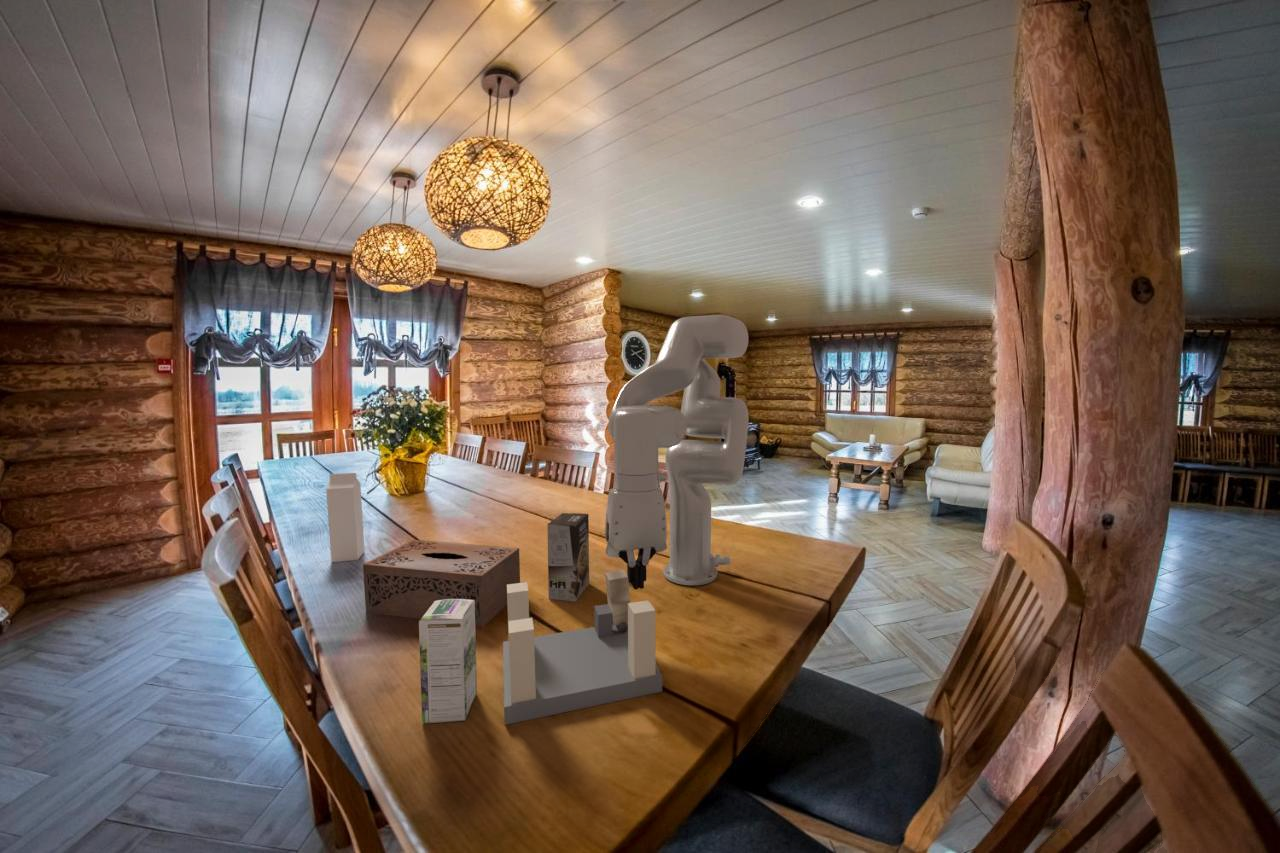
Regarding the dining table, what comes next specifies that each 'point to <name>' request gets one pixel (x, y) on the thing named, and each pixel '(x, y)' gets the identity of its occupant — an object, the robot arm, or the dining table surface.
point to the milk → (345, 517)
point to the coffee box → (568, 556)
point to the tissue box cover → (440, 578)
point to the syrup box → (448, 660)
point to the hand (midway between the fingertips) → (636, 585)
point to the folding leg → (618, 598)
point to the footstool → (576, 661)
